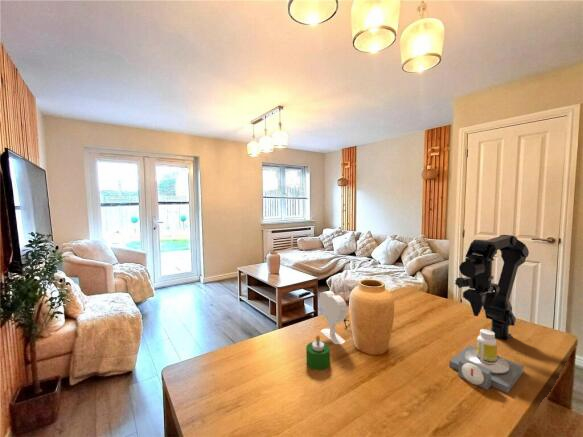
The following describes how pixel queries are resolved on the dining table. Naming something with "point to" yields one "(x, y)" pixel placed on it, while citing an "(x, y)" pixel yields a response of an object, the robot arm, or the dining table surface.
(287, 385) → the dining table surface
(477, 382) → the scale housing
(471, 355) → the scale pan
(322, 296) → the heart sculpture
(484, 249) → the robot arm
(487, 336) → the supplement bottle
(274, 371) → the dining table surface
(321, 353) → the candle
